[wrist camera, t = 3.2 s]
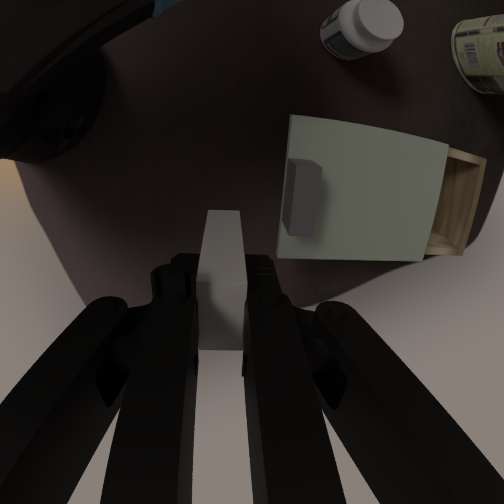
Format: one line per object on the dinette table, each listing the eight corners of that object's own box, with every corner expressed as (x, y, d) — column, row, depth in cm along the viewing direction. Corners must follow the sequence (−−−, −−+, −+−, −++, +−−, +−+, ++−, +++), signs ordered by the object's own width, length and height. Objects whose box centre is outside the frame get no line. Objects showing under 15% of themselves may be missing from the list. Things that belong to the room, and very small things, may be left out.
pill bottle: (370, 60, 26) (415, 51, 18) (323, 60, 26) (357, 46, 18) (362, 16, 24) (404, -6, 16) (315, 14, 24) (345, -14, 16)
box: (332, 223, 34) (354, 252, 28) (346, 124, 29) (375, 130, 23) (430, 230, 35) (462, 255, 29) (448, 146, 30) (486, 159, 24)
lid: (276, 253, 27) (283, 276, 23) (290, 114, 22) (301, 115, 18) (418, 257, 28) (437, 276, 25) (443, 143, 23) (469, 151, 20)
